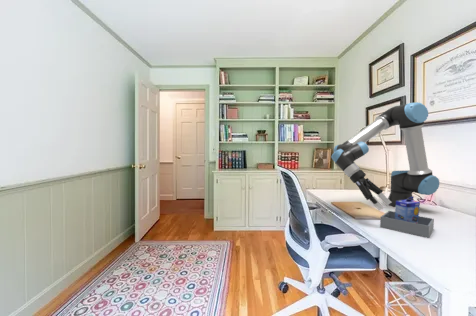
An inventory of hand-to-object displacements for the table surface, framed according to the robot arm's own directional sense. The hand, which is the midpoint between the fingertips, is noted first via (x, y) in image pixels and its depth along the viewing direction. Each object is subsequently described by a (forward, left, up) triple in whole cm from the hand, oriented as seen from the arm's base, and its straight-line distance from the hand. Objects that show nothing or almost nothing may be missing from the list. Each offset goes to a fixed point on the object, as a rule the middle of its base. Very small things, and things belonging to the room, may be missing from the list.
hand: (385, 206), depth 115 cm
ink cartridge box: (0, +9, -8) cm, 12 cm away
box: (0, +9, -9) cm, 12 cm away
